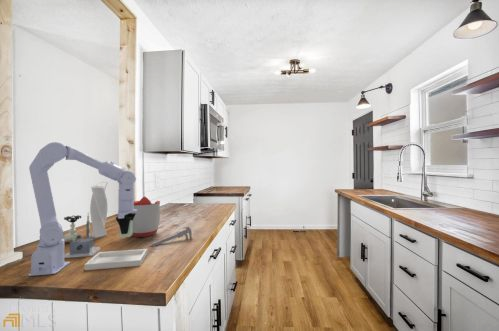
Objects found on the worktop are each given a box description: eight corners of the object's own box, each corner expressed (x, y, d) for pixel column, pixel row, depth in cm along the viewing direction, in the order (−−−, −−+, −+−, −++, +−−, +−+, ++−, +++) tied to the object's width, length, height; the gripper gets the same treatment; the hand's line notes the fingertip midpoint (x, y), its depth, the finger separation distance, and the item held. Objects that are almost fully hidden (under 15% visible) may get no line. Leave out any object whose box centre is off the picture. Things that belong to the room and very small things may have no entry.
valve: (72, 244, 109) (72, 218, 109) (60, 243, 111) (60, 217, 111) (84, 240, 116) (84, 215, 116) (73, 239, 117) (73, 215, 117)
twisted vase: (102, 233, 128) (102, 181, 128) (111, 235, 124) (111, 182, 125) (85, 237, 121) (85, 182, 121) (94, 239, 117) (94, 183, 117)
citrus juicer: (168, 230, 133) (168, 194, 133) (147, 239, 116) (147, 198, 116) (144, 228, 137) (144, 193, 137) (120, 237, 120) (120, 197, 120)
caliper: (190, 238, 120) (190, 225, 120) (191, 238, 119) (191, 225, 119) (148, 246, 107) (148, 232, 107) (149, 247, 106) (149, 233, 106)
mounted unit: (92, 255, 95) (92, 242, 95) (64, 258, 93) (64, 244, 93) (100, 249, 103) (100, 236, 103) (74, 250, 101) (74, 237, 101)
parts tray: (140, 265, 86) (140, 260, 86) (84, 270, 82) (84, 264, 82) (147, 253, 98) (147, 248, 98) (98, 257, 94) (98, 252, 94)
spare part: (130, 236, 98) (130, 222, 98) (119, 237, 97) (119, 222, 97) (132, 234, 102) (132, 220, 102) (122, 234, 101) (122, 220, 101)
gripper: (131, 201, 93) (131, 236, 93) (140, 197, 107) (140, 227, 107) (112, 202, 92) (112, 237, 92) (123, 197, 106) (123, 228, 106)
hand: (126, 232), depth 99 cm, fingers closed on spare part, 4 cm apart
